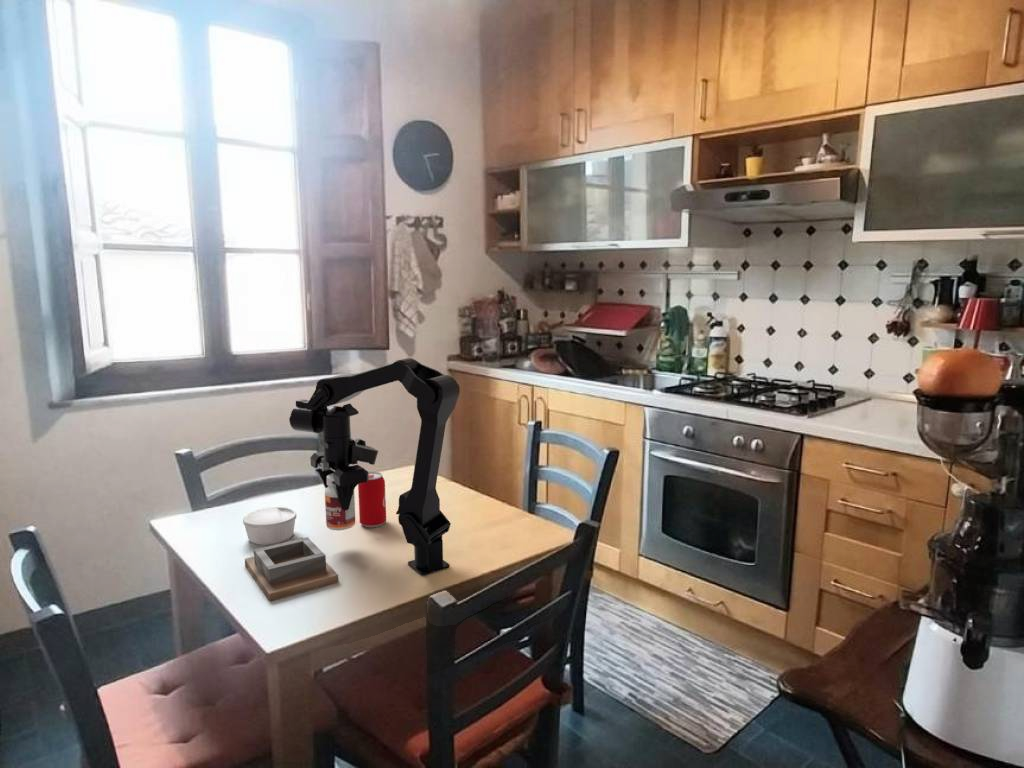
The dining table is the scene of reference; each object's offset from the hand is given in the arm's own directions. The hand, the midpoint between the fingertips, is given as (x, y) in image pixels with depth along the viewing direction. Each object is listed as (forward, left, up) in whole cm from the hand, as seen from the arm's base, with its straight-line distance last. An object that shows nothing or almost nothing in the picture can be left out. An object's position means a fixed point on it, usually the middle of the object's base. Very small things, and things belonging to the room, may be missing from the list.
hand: (340, 505), depth 140 cm
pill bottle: (0, 0, -5) cm, 5 cm away
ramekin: (+15, +11, -10) cm, 21 cm away
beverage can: (+9, -11, -10) cm, 17 cm away
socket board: (-6, +13, -10) cm, 17 cm away
